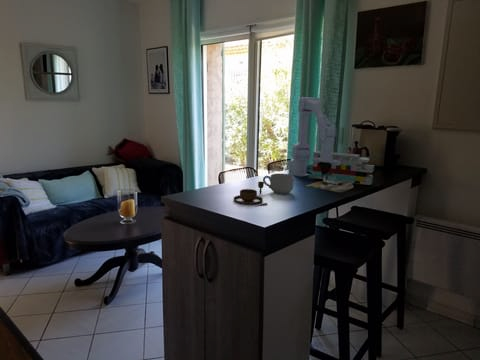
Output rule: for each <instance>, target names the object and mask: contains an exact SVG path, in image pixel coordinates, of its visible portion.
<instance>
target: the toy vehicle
mask: <svg viewBox="0 0 480 360" xmlns="http://www.w3.org/2000/svg"><path fill="white" fill-rule="evenodd" d="M320 154H321V150H316V151H314V152H313V154H312V155H313V156H312V158H320ZM332 160H337V161H341V163H340V165H334V164H332V166H331V168H330V169H329V171H328V173H332V175H338V176H341V178H340V180H342V182H346V183H353V184H354V186H357V187H361V185H366V186H367V185H369V186H371V184H373V178H374V176H373V175H374V174H371V173H373V172H374V170H375V165H374V164H373V165H372V164H371V165H370V164H364V163H369V161H370V157H361V156H360V154H355V153H354V154H353V153H344V152H333V153H332ZM328 163H329V162H328ZM319 164H320V163H319V162H312V170H311V178H312V179H320V180H323V178H322V172H321V169H320V166H319ZM369 173H370V174H369Z"/></svg>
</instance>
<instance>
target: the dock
mask: <svg viewBox="0 0 480 360" xmlns="http://www.w3.org/2000/svg"><path fill="white" fill-rule="evenodd" d="M353 184H354V183H350V182H342V185H340V186H339V185H338V184H337V185H333V183H331V184H330V183H328V182H327V185H324V184H323V181H315V182H313V183H310V184H307V185H305V186H306V187H309V188H315V189H320V190H321V189H322V190H326V191H332V192H335V193H344V192H346V191H349V190H352V189H353V188H354V186H355V185H353Z"/></svg>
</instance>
